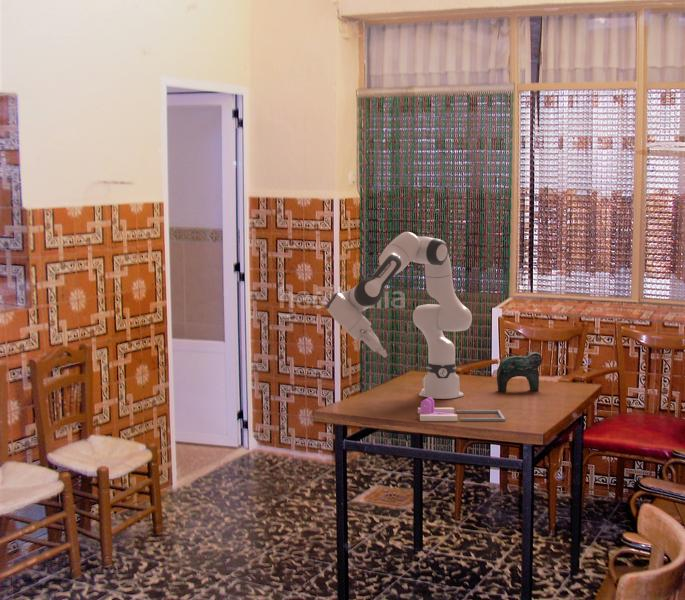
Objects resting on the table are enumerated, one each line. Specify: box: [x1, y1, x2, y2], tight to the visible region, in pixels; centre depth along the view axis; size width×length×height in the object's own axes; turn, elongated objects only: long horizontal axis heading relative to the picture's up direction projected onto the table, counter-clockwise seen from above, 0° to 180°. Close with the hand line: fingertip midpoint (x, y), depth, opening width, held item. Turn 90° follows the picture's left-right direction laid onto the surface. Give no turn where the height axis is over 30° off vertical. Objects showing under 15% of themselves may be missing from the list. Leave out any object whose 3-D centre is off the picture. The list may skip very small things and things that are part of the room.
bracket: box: [420, 397, 453, 414], centre depth 376 cm, size 13×6×7 cm, turn 67°
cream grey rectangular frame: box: [417, 406, 506, 422], centre depth 376 cm, size 15×32×2 cm, turn 89°
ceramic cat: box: [496, 344, 543, 393], centre depth 427 cm, size 20×6×20 cm, turn 97°
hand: (385, 354), depth 374 cm, fingers open, 8 cm apart
